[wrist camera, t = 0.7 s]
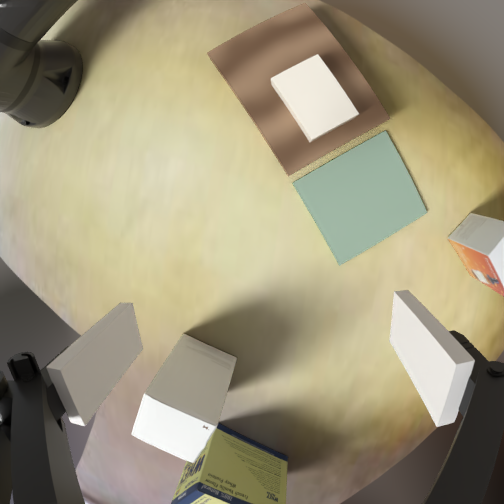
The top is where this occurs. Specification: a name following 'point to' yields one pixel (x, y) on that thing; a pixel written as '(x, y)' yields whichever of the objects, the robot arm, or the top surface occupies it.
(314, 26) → the plate
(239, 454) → the protein box
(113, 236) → the top surface
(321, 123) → the tile
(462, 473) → the robot arm
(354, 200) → the mat
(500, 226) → the small box
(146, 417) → the supplement box
